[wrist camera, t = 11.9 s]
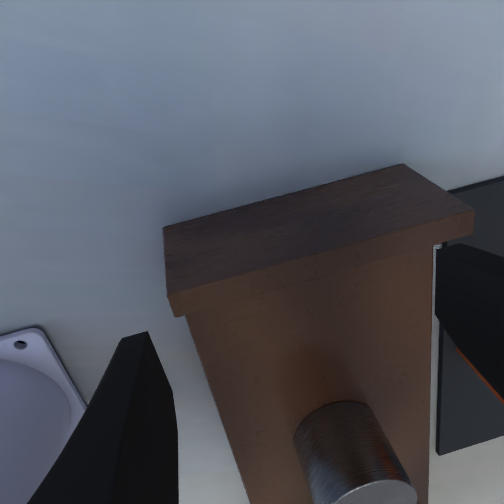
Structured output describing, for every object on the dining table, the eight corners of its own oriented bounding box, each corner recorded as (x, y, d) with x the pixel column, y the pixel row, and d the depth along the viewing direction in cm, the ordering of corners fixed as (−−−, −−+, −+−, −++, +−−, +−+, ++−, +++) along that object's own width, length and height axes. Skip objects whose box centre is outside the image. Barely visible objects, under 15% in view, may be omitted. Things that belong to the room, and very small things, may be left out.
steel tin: (299, 470, 25) (327, 555, 21) (287, 416, 23) (315, 501, 19) (377, 445, 25) (418, 525, 22) (373, 390, 23) (418, 468, 19)
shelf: (267, 538, 33) (286, 623, 28) (162, 226, 19) (166, 295, 15) (409, 492, 33) (449, 567, 29) (403, 163, 20) (476, 209, 16)
